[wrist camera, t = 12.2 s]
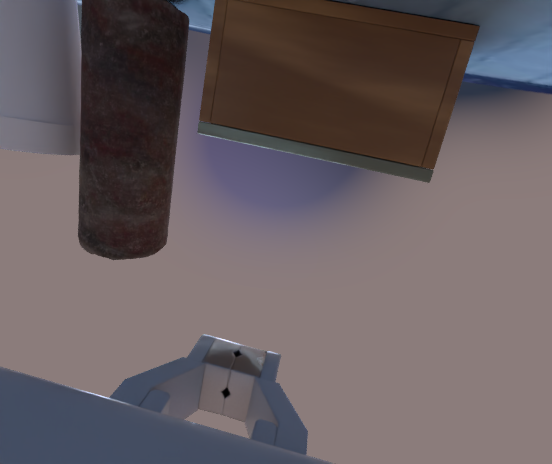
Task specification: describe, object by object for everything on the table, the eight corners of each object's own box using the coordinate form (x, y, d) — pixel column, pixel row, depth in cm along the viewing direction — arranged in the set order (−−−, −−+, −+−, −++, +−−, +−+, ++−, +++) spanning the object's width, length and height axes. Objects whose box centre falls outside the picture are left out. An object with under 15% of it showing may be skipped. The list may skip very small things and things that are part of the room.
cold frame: (434, 62, 28) (404, 162, 31) (250, 29, 30) (235, 127, 32) (480, 25, 20) (434, 169, 22) (217, -19, 21) (198, 120, 23)
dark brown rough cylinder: (197, -10, 23) (164, 264, 29) (193, 17, 30) (167, 236, 35) (68, -51, 21) (58, 256, 26) (95, -11, 28) (83, 227, 33)
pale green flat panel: (403, 162, 31) (400, 171, 31) (236, 127, 33) (234, 136, 33) (433, 170, 22) (429, 182, 22) (198, 121, 23) (197, 133, 24)
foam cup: (-90, -89, 20) (-73, 138, 24) (90, -28, 24) (81, 160, 28) (-27, -34, 28) (-22, 129, 32) (100, 5, 32) (92, 146, 36)
